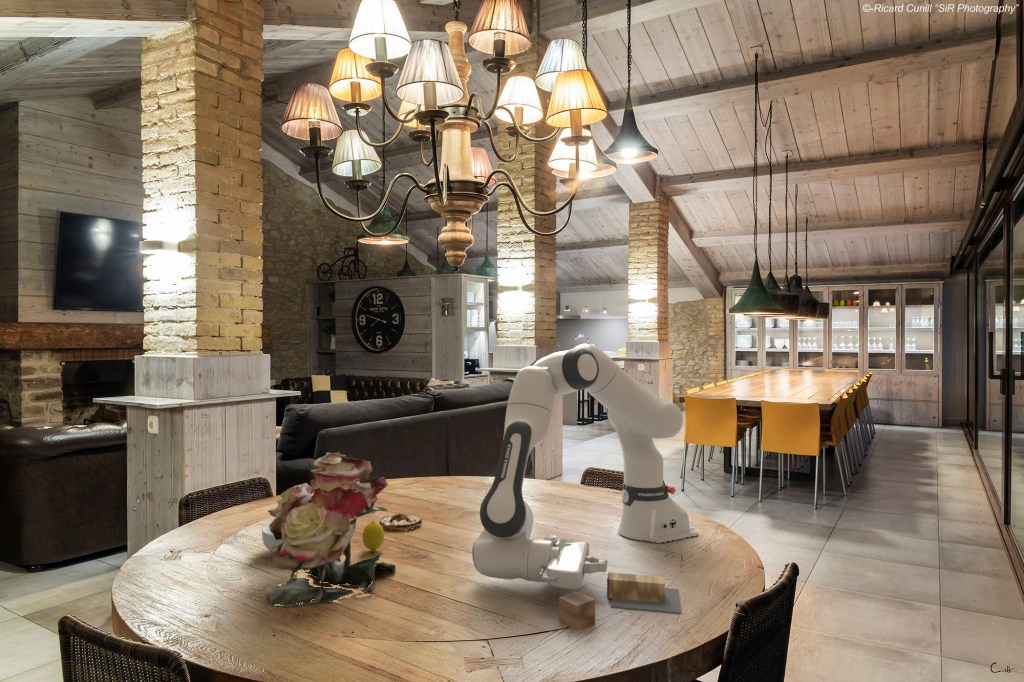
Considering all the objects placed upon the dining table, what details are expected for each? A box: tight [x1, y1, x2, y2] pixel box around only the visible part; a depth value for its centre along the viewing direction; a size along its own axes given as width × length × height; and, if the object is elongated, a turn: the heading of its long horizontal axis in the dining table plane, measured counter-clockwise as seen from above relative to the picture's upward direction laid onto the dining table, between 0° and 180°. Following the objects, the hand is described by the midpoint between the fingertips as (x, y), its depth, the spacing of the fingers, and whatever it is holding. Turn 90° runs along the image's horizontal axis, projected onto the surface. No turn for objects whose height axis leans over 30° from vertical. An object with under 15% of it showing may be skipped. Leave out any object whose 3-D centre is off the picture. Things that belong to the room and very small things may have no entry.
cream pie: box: [379, 512, 423, 532], centre depth 188 cm, size 15×15×4 cm
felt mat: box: [610, 587, 682, 615], centre depth 135 cm, size 14×12×1 cm
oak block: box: [606, 572, 666, 603], centre depth 136 cm, size 4×4×12 cm
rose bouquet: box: [266, 452, 397, 608], centre depth 142 cm, size 26×29×30 cm
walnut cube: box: [558, 590, 596, 632], centre depth 124 cm, size 5×5×5 cm
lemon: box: [362, 520, 385, 552], centre depth 165 cm, size 6×6×8 cm
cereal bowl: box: [261, 523, 289, 557], centre depth 164 cm, size 17×17×7 cm
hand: (606, 565), depth 137 cm, fingers closed
